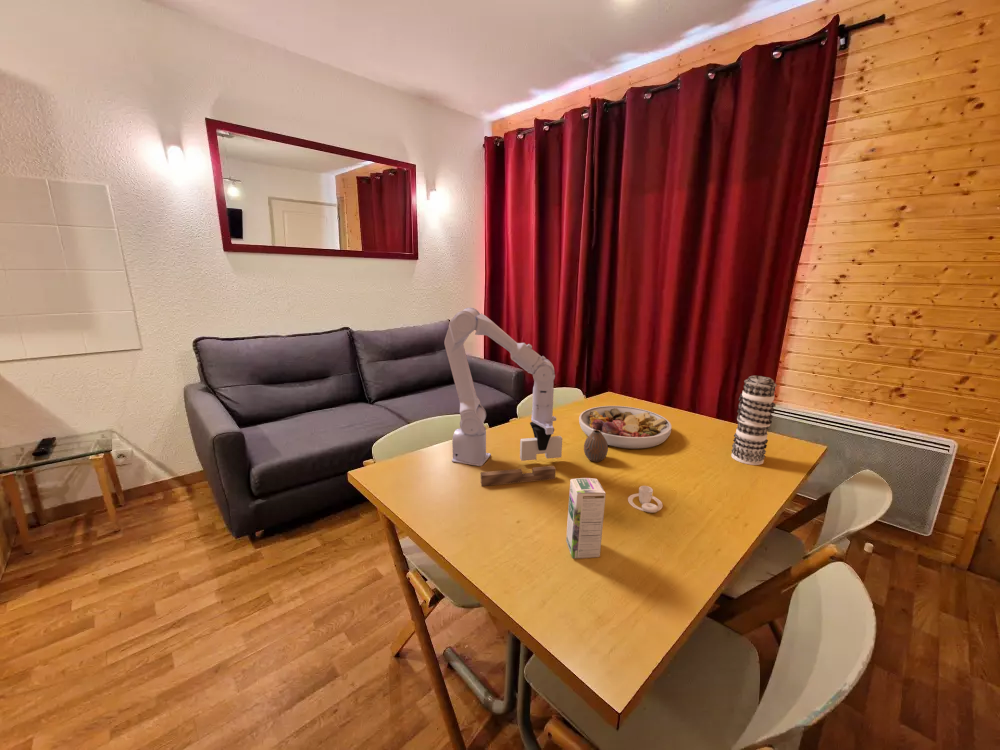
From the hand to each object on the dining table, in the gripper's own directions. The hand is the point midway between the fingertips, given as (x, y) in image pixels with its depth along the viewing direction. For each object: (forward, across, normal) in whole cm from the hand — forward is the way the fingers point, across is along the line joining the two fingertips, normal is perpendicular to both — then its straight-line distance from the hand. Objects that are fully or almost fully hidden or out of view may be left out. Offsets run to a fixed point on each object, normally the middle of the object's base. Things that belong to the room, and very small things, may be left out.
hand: (541, 448), depth 119 cm
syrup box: (+5, -38, +3) cm, 38 cm away
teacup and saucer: (+5, -26, -16) cm, 31 cm away
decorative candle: (+4, -9, -61) cm, 62 cm away
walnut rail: (+5, -9, +9) cm, 13 cm away
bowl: (+5, +16, -34) cm, 38 cm away
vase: (+5, -1, -17) cm, 17 cm away
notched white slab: (+3, 0, 0) cm, 3 cm away
